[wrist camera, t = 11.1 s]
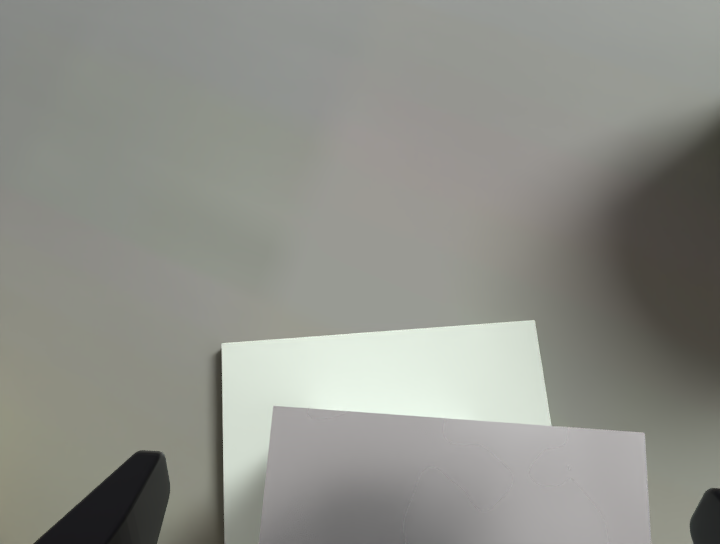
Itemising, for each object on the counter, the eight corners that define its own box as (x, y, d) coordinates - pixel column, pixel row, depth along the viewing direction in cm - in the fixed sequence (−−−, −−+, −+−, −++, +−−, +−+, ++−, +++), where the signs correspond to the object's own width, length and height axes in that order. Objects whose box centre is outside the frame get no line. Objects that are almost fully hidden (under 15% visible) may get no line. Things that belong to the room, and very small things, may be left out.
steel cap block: (477, 590, 16) (668, 843, 6) (302, 577, 16) (229, 810, 6) (480, 427, 17) (644, 432, 8) (317, 415, 17) (273, 405, 8)
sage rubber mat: (584, 669, 16) (591, 677, 16) (230, 703, 16) (226, 712, 15) (529, 322, 19) (534, 320, 18) (224, 345, 18) (221, 343, 18)
